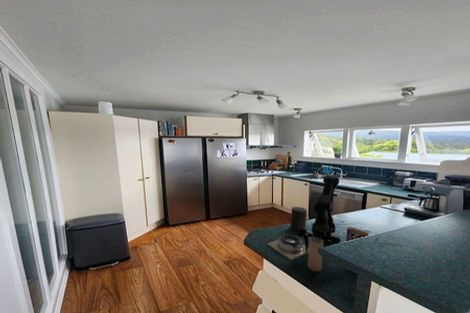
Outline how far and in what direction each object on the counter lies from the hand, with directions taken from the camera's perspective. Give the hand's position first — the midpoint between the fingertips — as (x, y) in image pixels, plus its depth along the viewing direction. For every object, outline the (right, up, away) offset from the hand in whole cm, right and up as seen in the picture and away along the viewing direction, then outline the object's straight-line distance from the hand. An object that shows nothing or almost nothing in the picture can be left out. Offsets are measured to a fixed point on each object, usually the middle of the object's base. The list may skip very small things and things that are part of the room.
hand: (314, 255), depth 94 cm
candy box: (+24, -7, +9) cm, 27 cm away
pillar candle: (+6, -4, +44) cm, 44 cm away
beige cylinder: (0, -7, +2) cm, 7 cm away
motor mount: (-7, -5, +18) cm, 20 cm away
